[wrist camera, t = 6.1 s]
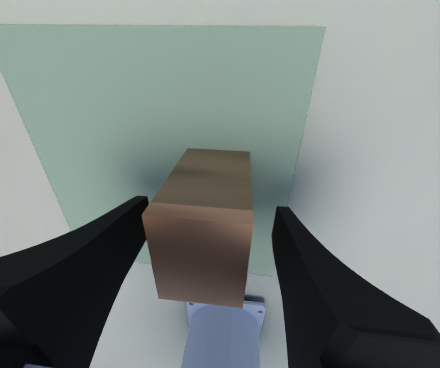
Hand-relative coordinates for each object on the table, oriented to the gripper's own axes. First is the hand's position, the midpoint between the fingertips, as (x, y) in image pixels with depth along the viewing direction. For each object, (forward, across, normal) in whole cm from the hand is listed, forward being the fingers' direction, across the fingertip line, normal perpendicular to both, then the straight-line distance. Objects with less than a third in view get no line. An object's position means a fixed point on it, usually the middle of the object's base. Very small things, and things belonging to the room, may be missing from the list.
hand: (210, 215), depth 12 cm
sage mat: (+4, +4, 0) cm, 6 cm away
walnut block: (+3, 0, 0) cm, 3 cm away
